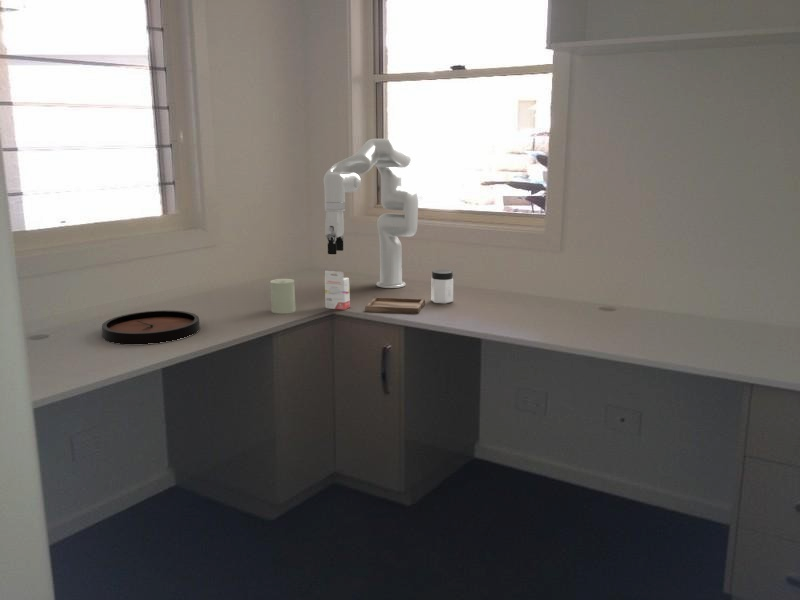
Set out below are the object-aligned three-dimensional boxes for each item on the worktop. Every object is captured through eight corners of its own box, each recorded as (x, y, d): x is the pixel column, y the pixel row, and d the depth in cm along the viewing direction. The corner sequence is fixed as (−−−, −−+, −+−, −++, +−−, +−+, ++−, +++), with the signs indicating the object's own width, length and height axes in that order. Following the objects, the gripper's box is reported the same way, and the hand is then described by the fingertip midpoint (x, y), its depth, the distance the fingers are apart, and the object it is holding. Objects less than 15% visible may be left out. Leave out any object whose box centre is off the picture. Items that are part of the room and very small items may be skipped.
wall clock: (203, 328, 239) (100, 337, 228) (204, 339, 240) (101, 350, 229) (194, 307, 267) (102, 314, 256) (195, 317, 268) (103, 326, 257)
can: (273, 314, 271) (271, 282, 268) (269, 309, 279) (267, 278, 277) (297, 312, 274) (296, 281, 271) (293, 307, 282) (292, 276, 280)
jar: (441, 304, 285) (442, 274, 282) (426, 301, 291) (427, 271, 288) (457, 300, 291) (457, 271, 288) (442, 297, 297) (442, 268, 294)
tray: (375, 301, 290) (374, 297, 290) (424, 303, 286) (424, 298, 286) (365, 311, 275) (365, 306, 274) (418, 313, 271) (418, 308, 271)
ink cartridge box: (350, 307, 281) (349, 269, 278) (344, 310, 277) (344, 272, 274) (330, 305, 285) (329, 268, 281) (324, 308, 280) (323, 270, 277)
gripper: (331, 204, 281) (332, 248, 285) (318, 208, 264) (319, 255, 268) (350, 205, 280) (351, 249, 283) (338, 208, 263) (339, 256, 267)
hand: (335, 252), depth 276 cm, fingers open, 9 cm apart
